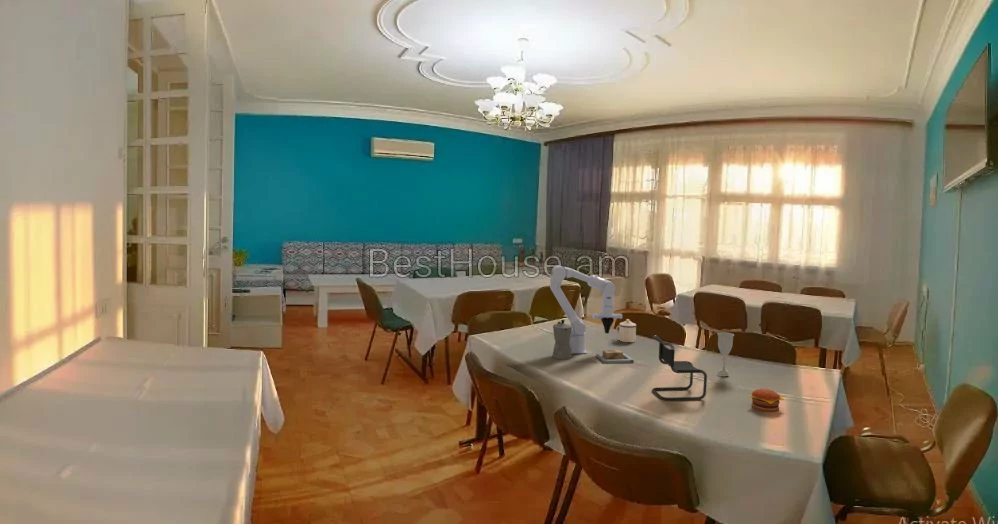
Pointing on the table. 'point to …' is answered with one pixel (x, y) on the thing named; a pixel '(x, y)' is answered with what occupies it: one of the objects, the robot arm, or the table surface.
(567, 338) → the coffeepot
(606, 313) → the robot arm
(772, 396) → the hamburger
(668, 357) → the chair
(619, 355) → the walnut block
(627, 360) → the grey u-shaped bracket
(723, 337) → the chalice
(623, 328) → the teacup with lid
